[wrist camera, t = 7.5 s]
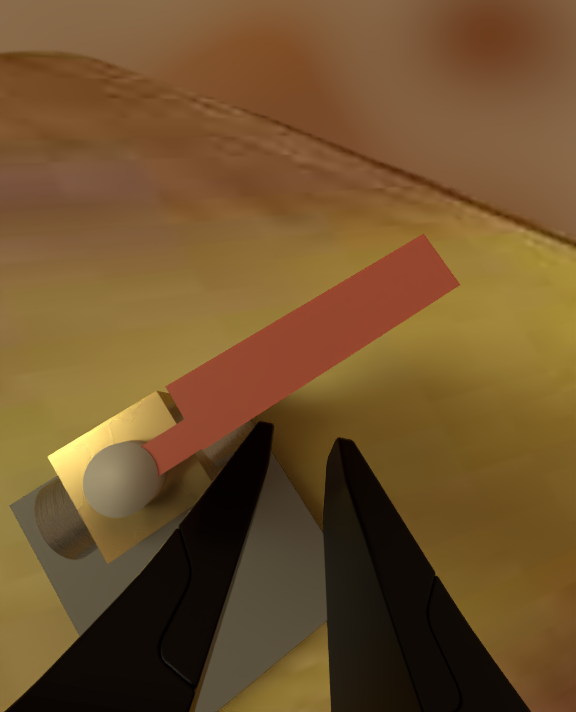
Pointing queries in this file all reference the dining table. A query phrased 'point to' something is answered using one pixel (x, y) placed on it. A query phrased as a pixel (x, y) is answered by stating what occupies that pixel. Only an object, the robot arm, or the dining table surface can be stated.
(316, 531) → the mounting board
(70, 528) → the ball valve
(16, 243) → the dining table surface
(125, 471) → the valve lever
